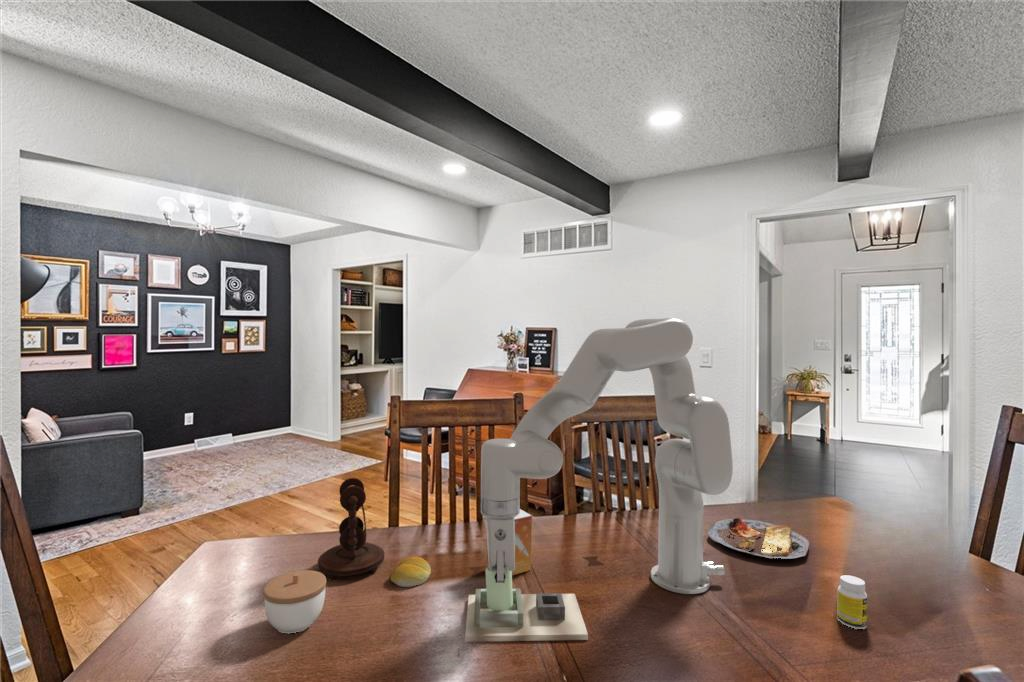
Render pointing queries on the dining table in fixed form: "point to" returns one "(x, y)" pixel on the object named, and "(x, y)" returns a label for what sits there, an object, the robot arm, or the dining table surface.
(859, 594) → the supplement bottle
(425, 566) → the bread roll
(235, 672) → the dining table surface
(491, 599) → the candle
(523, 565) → the small box
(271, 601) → the lidded jar
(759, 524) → the food plate
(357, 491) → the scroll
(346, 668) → the dining table surface
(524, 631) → the holder board
